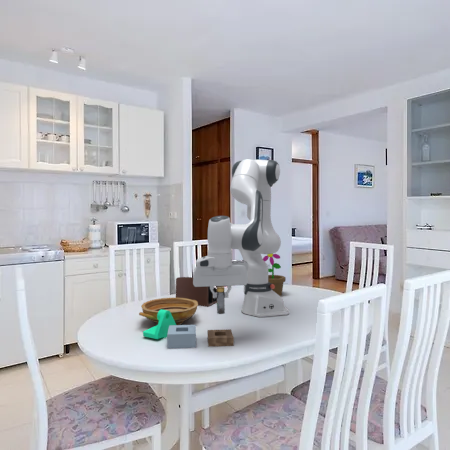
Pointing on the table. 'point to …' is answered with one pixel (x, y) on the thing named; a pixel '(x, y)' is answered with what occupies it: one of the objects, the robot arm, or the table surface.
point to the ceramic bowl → (170, 308)
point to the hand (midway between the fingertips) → (220, 297)
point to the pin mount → (220, 338)
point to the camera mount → (160, 325)
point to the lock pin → (220, 300)
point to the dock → (181, 336)
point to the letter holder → (194, 292)
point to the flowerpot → (275, 279)
